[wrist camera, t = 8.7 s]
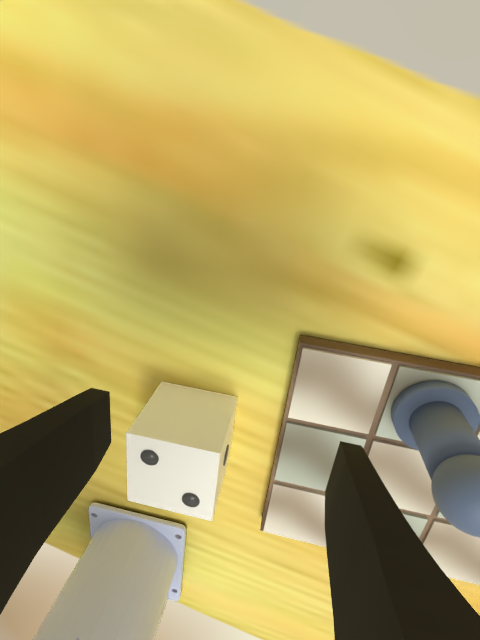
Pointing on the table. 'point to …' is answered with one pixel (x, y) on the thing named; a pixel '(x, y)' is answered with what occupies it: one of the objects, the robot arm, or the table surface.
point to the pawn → (444, 446)
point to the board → (368, 431)
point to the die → (180, 449)
